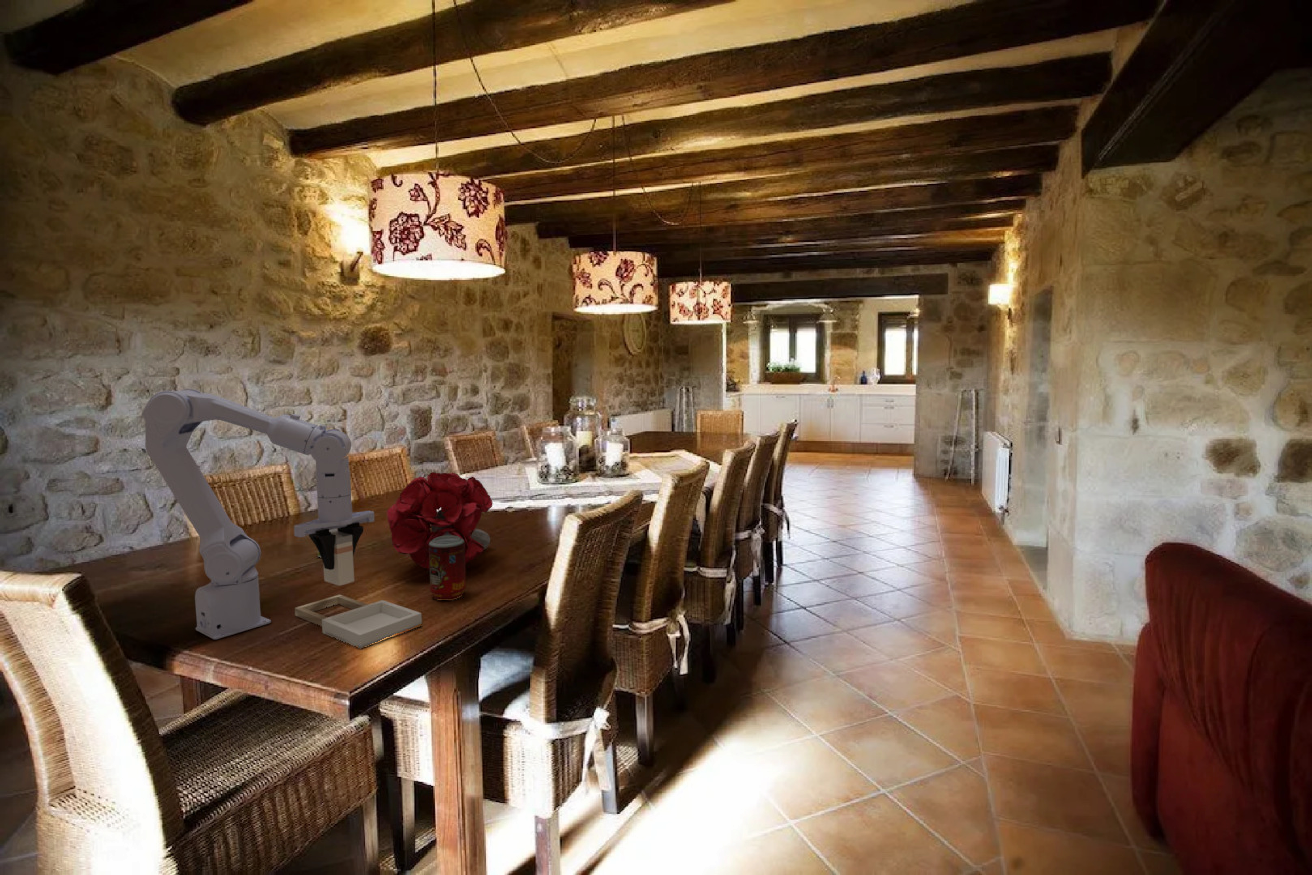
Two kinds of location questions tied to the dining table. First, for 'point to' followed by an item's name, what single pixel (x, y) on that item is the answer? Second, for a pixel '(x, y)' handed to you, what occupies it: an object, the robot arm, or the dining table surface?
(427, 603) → the dining table surface
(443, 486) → the bouquet
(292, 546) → the dining table surface
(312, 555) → the dining table surface
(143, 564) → the dining table surface
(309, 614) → the frame
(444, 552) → the soda can
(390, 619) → the tray
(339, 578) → the block
